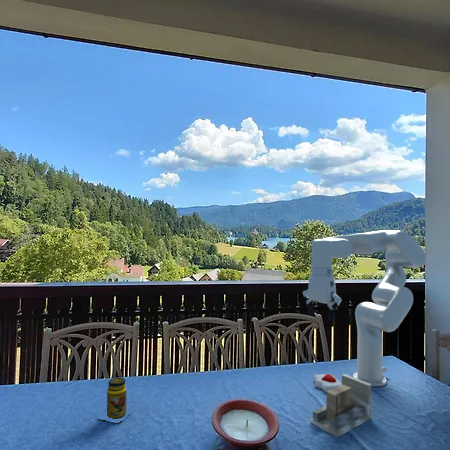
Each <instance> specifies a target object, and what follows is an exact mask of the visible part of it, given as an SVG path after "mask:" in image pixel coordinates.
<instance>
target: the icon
mask: <svg viewBox="0 0 450 450" xmlns="http://www.w3.org/2000/svg"><path fill="white" fill-rule="evenodd" d="M313 380H314V386H315V388H318V389H321V390H322V391H324V392H325V394H327V391H330V390H332V389H334V388H337V387H339V386H341V385H342V381H340V380H338V379H337V378H336V377H335V375H333V374H332V373H325V374H324V373H323V374H315V375H313Z"/></svg>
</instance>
